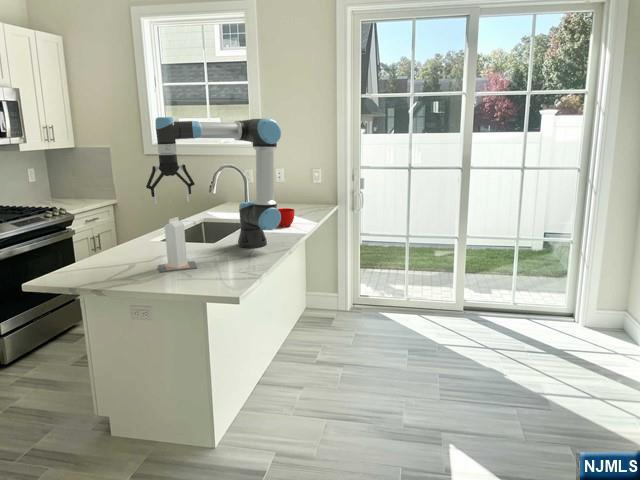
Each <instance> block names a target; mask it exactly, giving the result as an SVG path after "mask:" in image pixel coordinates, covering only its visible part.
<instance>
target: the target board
mask: <svg viewBox="0 0 640 480" xmlns="http://www.w3.org/2000/svg"><path fill="white" fill-rule="evenodd" d="M157 266H158V272H159V274H160V273H161V274H162V273H169V272H170V273H171V272H177V271H185V270H186V271H187V270H194V269H198V266H197V264H196V262H195V261H194V260H191V261H187V265H185V266H183V267H180V268H173V267H168V263H164V264H158V265H157Z"/></svg>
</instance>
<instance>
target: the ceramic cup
mask: <svg viewBox="0 0 640 480" xmlns="http://www.w3.org/2000/svg"><path fill="white" fill-rule="evenodd" d="M277 209H278V210H279V212H280V214H281V221H280V223H279V225H278V226H279V228H288V227H291V225H292V224H293V223H294V219H295V209H294V208H288V207H287V208H286V207H285V208H277ZM278 226H277V227H278Z"/></svg>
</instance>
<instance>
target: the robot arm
mask: <svg viewBox="0 0 640 480" xmlns="http://www.w3.org/2000/svg"><path fill="white" fill-rule="evenodd" d="M154 123H155V132H156V133H155V134H156V141H157V151H158V152H157V153H158V154H159V155H158V163H159V165H158V166H155V165H153V166H152V167H151V173H150V175H149V178H148V180H147V183H146V187H145V188H146V189H148V190H150V193H151V194H150V195H151V198H154V205H156V206H157V205H158V200H157V199H158V197H157V189H156V186H157V185H158V184H159V182H160V181H161V180H162V179H163V178H164V177H169V176H170V177H171V176H172V177H173V176H177V177H178V178H179V179H180V180H181V181H182V182H183V183H184V184H185V185H186V186H185V192H186V202H187V203H190V195H191V194H192V186H195V185H196V183H195V182H194V179H192V176H191V175H190V174H189V172H188V171H187V168H186V164H184V163H182V164H178V155H177V142H176V140H189V139H191V140H192V139H193V140H194V139H234V140H235V141H240V142H241V141H242V142H243V141H244V142H250V143H252V148H253V149H254V150H255V169H256V170H255V180H256V181H255V184H256V185H255V188H256V189H255V193H256V194H255V195H256V197H255V198H256V199H255V200H254V201H253V200H252V201H245V202H240V204H239V206H238V207H239V209H238V211H239V212H238V213H239V225H240V227H239V228H240V232H239V236H238V240H237V245H238V247H239V248H246V249H255V248H262V247H264V246H267V244H268V242H267V237H266V235H265V232H264V231H273V230H275V229H276V228H277V227H278V225H279V223H280V221H281V214H280V212H279V210H278V209H279V208H277V207H278V205H277V201H276V200H275V198H274V197H275V195H274V194H275V193H274V192H275V191H274V188H275V187H274V186H275V184H274V182H275V181H274V179H275V178H274V174H275V173H274V167H275V166H274V165H275V162H274V160H275V159H274V157H275V156H274V154H275V153H274V151H275V150H276V149H277V145H278V142H279V140H280V139H281V137H282V129H281V126H280V124H279V123H278V122H277V121H275V120H274V119H272V118H266V117H265V118H264V117H263V118H251V119H246V120H245V119H244V120H234V122H225V121H223V122H221V121H218V122H217V121H214V122H213V121H198V120H197V121H196V120H184V121H183V120H182V121H181V120H179V121H177V120H176V121H175V120H174V117H173V116H164V117H162V116H161V117H156V118H155V122H154ZM179 169H180V170H181V171H183V173H184V174H185V175H186V177H187V179H188V181H189V182H188V181H187V179H185V178H184V177H183V176H182V175H181V174H180V173H179V172H178V171H179ZM158 170H159V171H160V174H159V175H158V176H157V178H156V179H155V180H154V177H155V174H156V172H158ZM153 180H154V182H153ZM152 182H153V184H152ZM151 184H152V185H151Z"/></svg>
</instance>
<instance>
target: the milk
mask: <svg viewBox="0 0 640 480" xmlns="http://www.w3.org/2000/svg"><path fill="white" fill-rule="evenodd" d="M164 237H165V245H166V246H165V247H166V257H167V264H168V267H173V268H180V267H183V266H185V265H187V262H188V258H187V247H186V231H185V223H182V221H180V220H179V216H177V217H176V216H175V217H172V218H169V219H168V223H167V224H165V225H164Z"/></svg>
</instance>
